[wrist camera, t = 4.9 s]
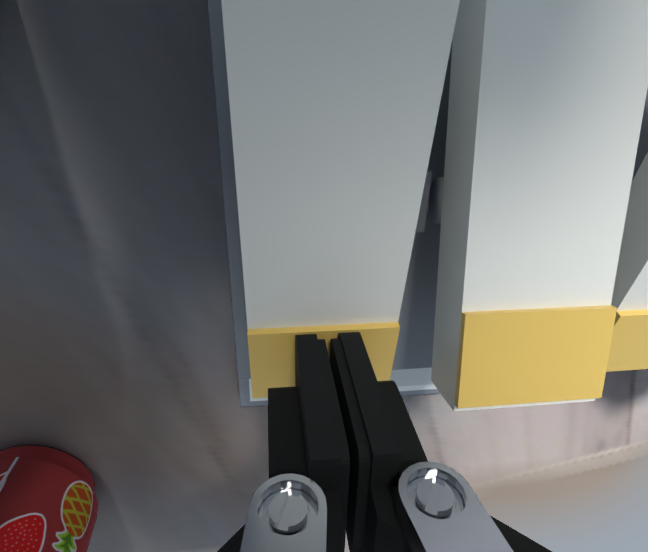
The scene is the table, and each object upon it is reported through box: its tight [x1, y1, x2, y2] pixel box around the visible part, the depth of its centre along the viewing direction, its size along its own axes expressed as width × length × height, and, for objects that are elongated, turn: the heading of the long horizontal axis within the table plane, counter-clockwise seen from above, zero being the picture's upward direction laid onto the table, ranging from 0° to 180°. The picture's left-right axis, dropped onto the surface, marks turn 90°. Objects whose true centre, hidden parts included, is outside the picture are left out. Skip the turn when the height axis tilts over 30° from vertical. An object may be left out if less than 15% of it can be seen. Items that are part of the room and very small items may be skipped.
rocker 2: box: [428, 0, 648, 411], centre depth 11 cm, size 10×4×3 cm, turn 179°
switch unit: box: [207, 0, 648, 407], centre depth 16 cm, size 20×16×7 cm
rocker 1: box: [221, 0, 460, 399], centre depth 11 cm, size 10×4×3 cm, turn 179°
